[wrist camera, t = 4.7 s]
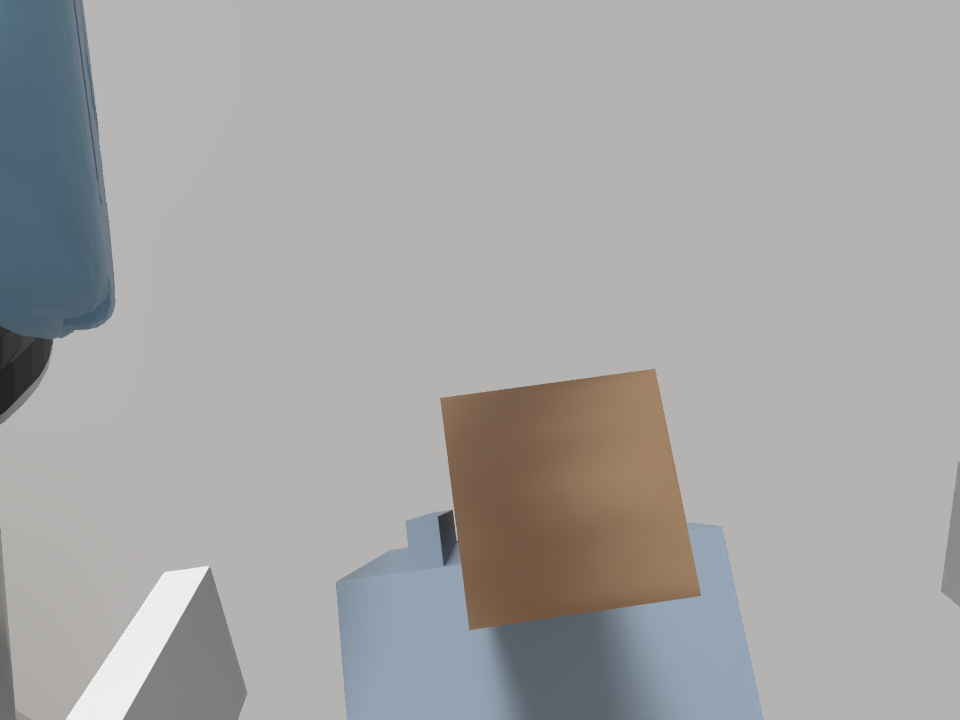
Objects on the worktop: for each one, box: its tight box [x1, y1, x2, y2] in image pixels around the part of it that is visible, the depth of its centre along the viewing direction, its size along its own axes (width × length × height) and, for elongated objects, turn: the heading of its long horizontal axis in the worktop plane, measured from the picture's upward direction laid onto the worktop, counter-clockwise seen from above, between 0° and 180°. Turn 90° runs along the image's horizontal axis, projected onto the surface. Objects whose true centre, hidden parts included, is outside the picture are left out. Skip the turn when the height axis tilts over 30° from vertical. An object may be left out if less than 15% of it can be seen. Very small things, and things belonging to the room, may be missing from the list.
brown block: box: [440, 369, 701, 630], centre depth 21 cm, size 4×24×4 cm, turn 0°
